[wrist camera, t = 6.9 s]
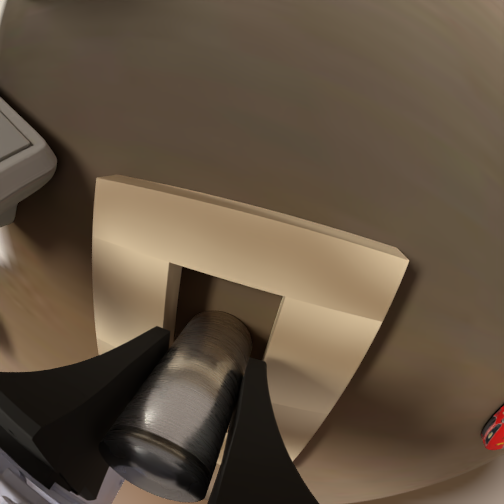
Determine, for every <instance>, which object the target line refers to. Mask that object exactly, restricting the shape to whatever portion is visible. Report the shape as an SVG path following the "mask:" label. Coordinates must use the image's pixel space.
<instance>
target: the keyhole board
mask: <svg viewBox="0 0 504 504" xmlns="http://www.w3.org/2000/svg"><path fill="white" fill-rule="evenodd" d="M408 263H409V260H408V259H407V258H406V257H405V256H404V255H403V254H402V253H401V252H400V251H399V250H398V249H397V248H396V247H393V246H390V245H387V244H383V243H380V242H377V241H374V240H371V239H368V238H365V237H361V236H358V235H355V234H352V233H349V232H345V231H342V230H339V229H335V228H332V227H329V226H325V225H322V224H318V223H315V222H311V221H308V220H304V219H301V218H297V217H294V216H290V215H287V214H283V213H279V212H276V211H272V210H268V209H264V208H261V207H257V206H253V205H249V204H245V203H241V202H237V201H233V200H229V199H225V198H221V197H217V196H213V195H209V194H205V193H201V192H196V191H192V190H188V189H183V188H179V187H175V186H170V185H166V184H161V183H156V182H152V181H147V180H142V179H137V178H132V177H127V176H122V175H111V176H104V177H98V178H97V179H96V188H95V199H94V213H93V234H92V281H93V302H94V316H95V327H96V336H97V345H98V352H99V355H101V354H103V353H105V352H108V351H110V350H112V349H114V348H116V347H118V346H120V345H122V344H124V343H126V342H128V341H130V340H132V339H134V338H136V337H137V336H139V335H141V334H143V333H145V332H146V331H148V330H150V329H152V328H154V327H156V326H158V327H161V328H164V329H166V330H169V331H170V342H169V348H170V347H171V346H172V344H173V341H174V331H175V321H176V312H177V303H178V295H179V287H180V279H181V272H182V266H183V267H186V268H189V269H192V270H196V271H199V272H202V273H205V274H209V275H212V276H215V277H219V278H222V279H225V280H229V281H232V282H236V283H239V284H242V285H246V286H249V287H253V288H256V289H260V290H263V291H267V292H270V293H274V294H277V295H281V296H283V298H282V301H281V304H280V307H279V310H278V313H277V316H276V319H275V322H274V325H273V328H272V331H271V334H270V337H269V340H268V343H267V346H266V349H265V352H264V355H263V358H262V360H261V361H265V362H266V364H267V381H268V388H269V394H270V399H271V403H272V408H273V412H274V416H275V419H276V422H277V426H278V429H279V432H280V434H281V437H282V440H283V442H284V445H285V447H286V449H287V451H288V454H289V456H290V458H291V460H292V462H293V461H294V459H295V458H296V457H297V456H298V455H299V453H300V452H301V451H302V449H303V448H304V447H305V446H306V444H307V443H308V442H309V440H310V439H311V438H312V436H313V435H314V434H315V432H316V431H317V430H318V428H319V427H320V425H321V424H322V423H323V421H324V420H325V418H326V417H327V415H328V414H329V413H330V411H331V410H332V408H333V407H334V405H335V404H336V402H337V401H338V399H339V398H340V396H341V394H342V393H343V391H344V390H345V388H346V386H347V385H348V383H349V382H350V380H351V378H352V377H353V375H354V373H355V372H356V370H357V368H358V366H359V365H360V363H361V361H362V360H363V358H364V356H365V354H366V352H367V351H368V349H369V347H370V345H371V343H372V341H373V339H374V337H375V336H376V334H377V332H378V330H379V328H380V326H381V324H382V322H383V320H384V318H385V316H386V313H387V311H388V309H389V307H390V305H391V303H392V301H393V298H394V296H395V294H396V292H397V289H398V287H399V285H400V283H401V280H402V278H403V275H404V273H405V270H406V268H407V266H408ZM227 434H228V432H227V433H226V435H225V439H224V442H223V445H222V448H221V451H220V454H219V457H218V460H217V464H220V465H221V462H222V458H223V453H224V449H225V444H226V439H227Z"/></svg>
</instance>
